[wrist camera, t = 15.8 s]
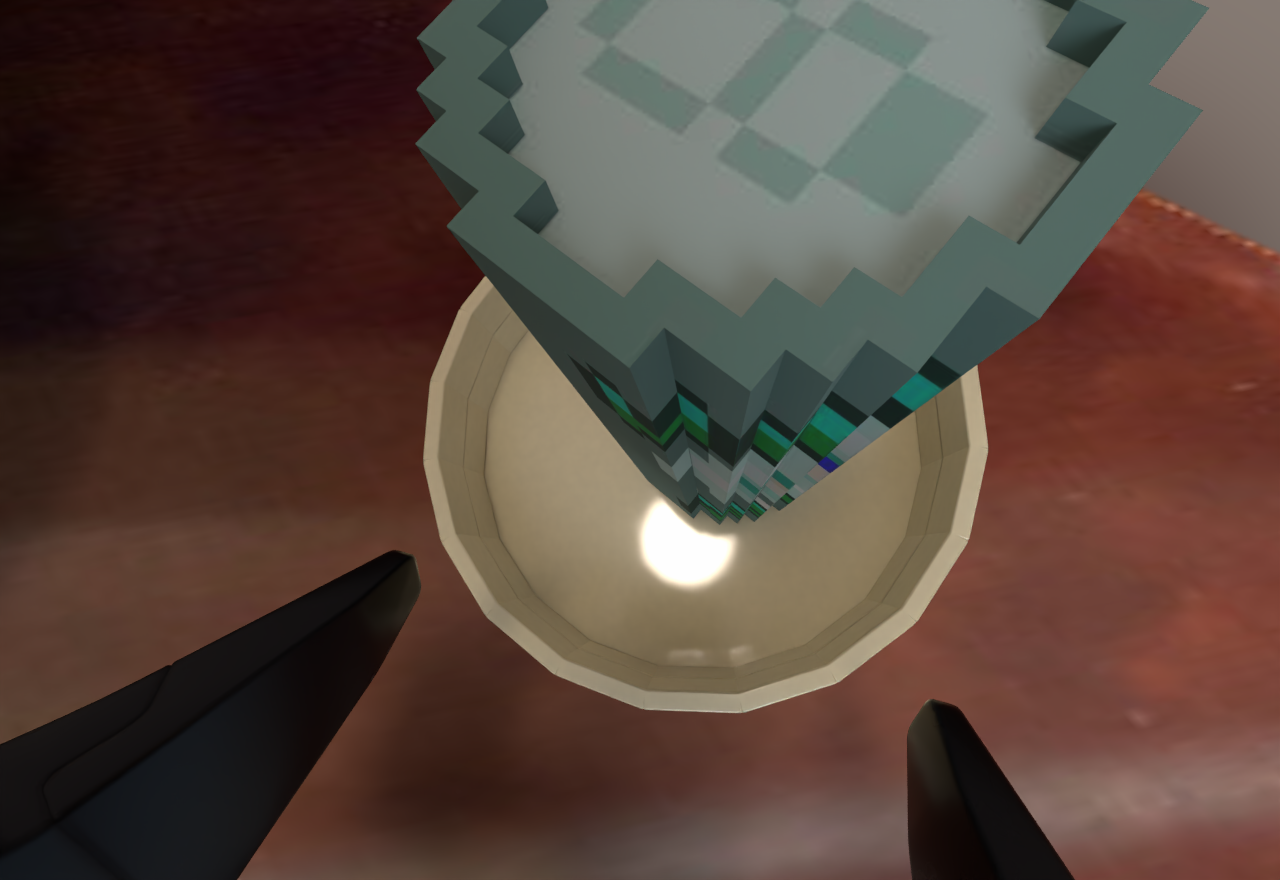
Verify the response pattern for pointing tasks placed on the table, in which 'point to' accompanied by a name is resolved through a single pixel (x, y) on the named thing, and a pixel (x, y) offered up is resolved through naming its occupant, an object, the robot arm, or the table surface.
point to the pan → (681, 536)
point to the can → (787, 203)
